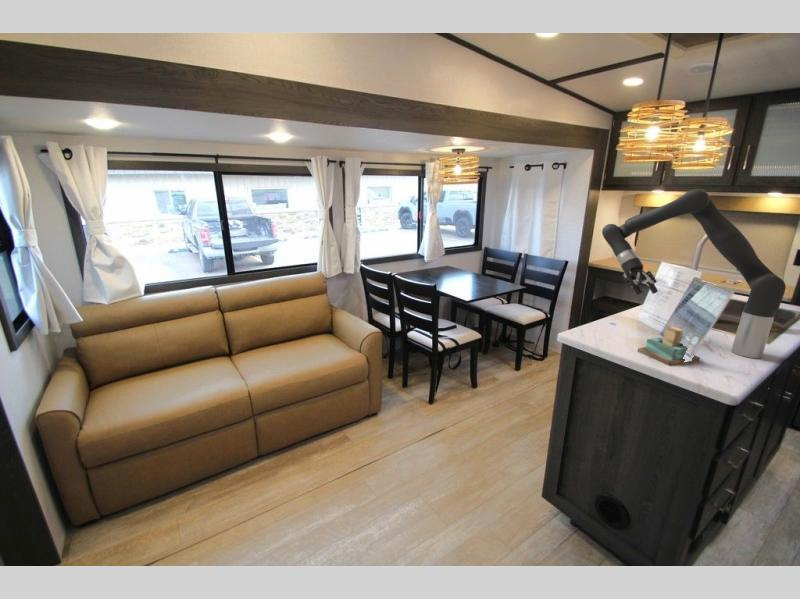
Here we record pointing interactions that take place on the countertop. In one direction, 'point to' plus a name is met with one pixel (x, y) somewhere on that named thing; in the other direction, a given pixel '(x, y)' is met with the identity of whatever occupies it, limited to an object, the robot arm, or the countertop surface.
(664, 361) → the socket block
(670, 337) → the peg
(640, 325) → the countertop surface
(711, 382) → the countertop surface
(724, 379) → the countertop surface
